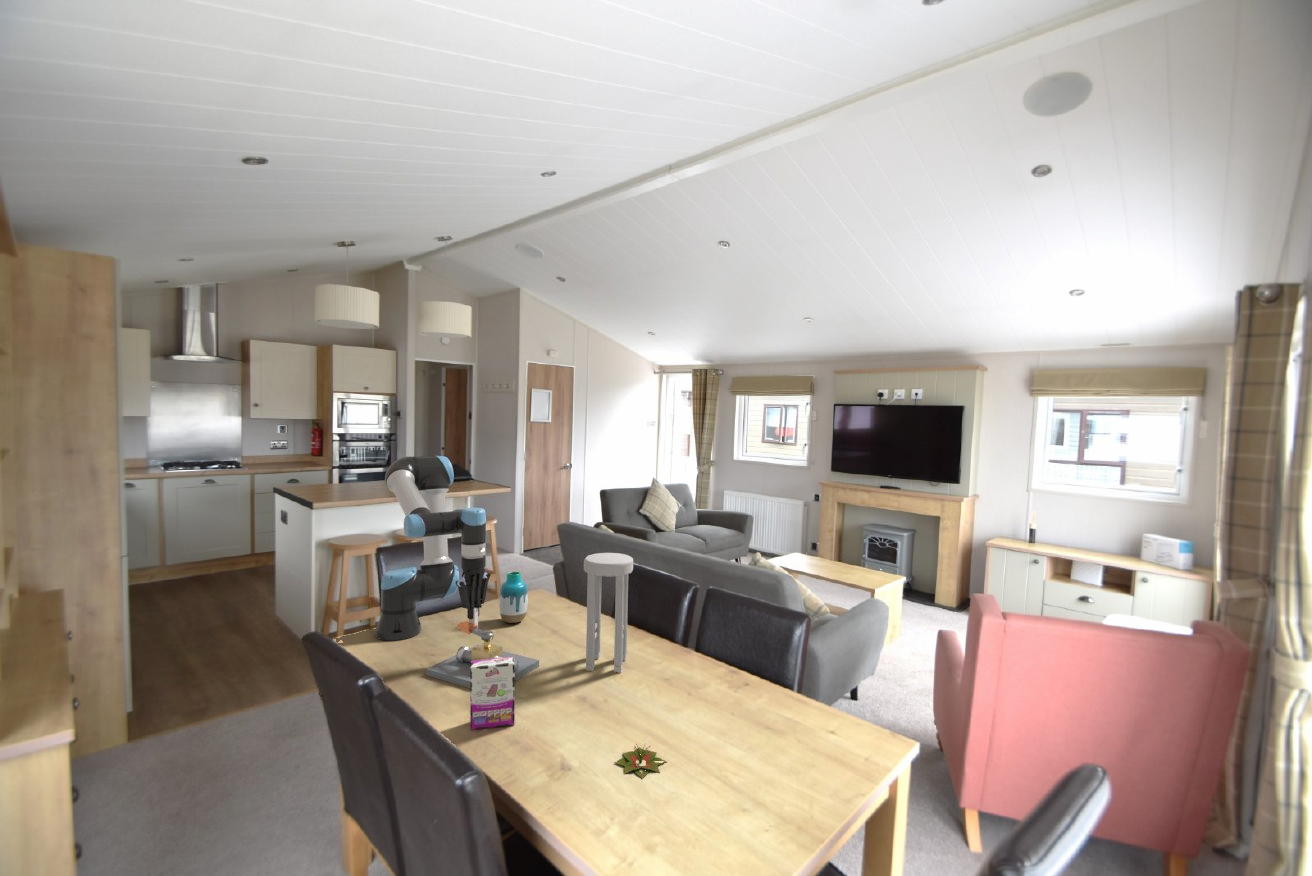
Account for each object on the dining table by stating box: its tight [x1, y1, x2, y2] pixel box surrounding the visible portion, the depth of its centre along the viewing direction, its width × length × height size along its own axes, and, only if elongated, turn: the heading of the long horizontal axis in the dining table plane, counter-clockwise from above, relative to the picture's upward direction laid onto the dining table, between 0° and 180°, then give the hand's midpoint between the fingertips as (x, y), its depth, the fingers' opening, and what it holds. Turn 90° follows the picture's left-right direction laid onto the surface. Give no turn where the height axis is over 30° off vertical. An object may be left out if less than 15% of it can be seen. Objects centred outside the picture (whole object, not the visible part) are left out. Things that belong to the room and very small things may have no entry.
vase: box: [499, 570, 529, 624], centre depth 228 cm, size 11×11×19 cm
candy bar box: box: [469, 657, 516, 731], centre depth 153 cm, size 11×5×16 cm, turn 105°
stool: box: [583, 552, 634, 674], centre depth 191 cm, size 16×16×35 cm
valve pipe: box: [455, 640, 519, 673], centre depth 183 cm, size 21×6×9 cm, turn 64°
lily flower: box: [613, 743, 668, 780], centre depth 137 cm, size 12×12×5 cm
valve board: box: [425, 644, 540, 689], centre depth 184 cm, size 26×22×2 cm
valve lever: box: [457, 620, 494, 642], centre depth 186 cm, size 4×16×2 cm, turn 50°
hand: (473, 627), depth 192 cm, fingers closed
